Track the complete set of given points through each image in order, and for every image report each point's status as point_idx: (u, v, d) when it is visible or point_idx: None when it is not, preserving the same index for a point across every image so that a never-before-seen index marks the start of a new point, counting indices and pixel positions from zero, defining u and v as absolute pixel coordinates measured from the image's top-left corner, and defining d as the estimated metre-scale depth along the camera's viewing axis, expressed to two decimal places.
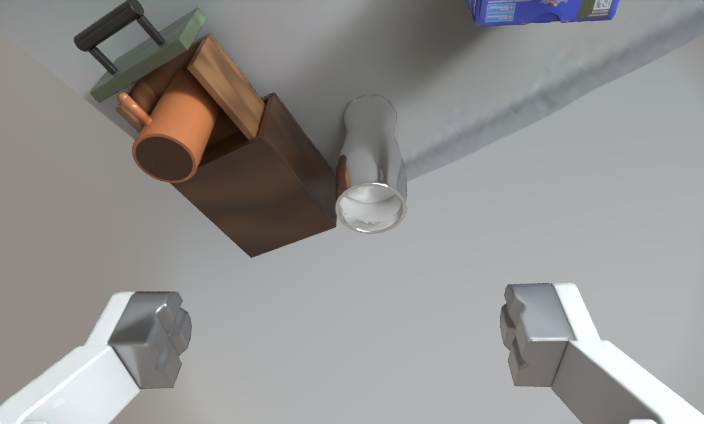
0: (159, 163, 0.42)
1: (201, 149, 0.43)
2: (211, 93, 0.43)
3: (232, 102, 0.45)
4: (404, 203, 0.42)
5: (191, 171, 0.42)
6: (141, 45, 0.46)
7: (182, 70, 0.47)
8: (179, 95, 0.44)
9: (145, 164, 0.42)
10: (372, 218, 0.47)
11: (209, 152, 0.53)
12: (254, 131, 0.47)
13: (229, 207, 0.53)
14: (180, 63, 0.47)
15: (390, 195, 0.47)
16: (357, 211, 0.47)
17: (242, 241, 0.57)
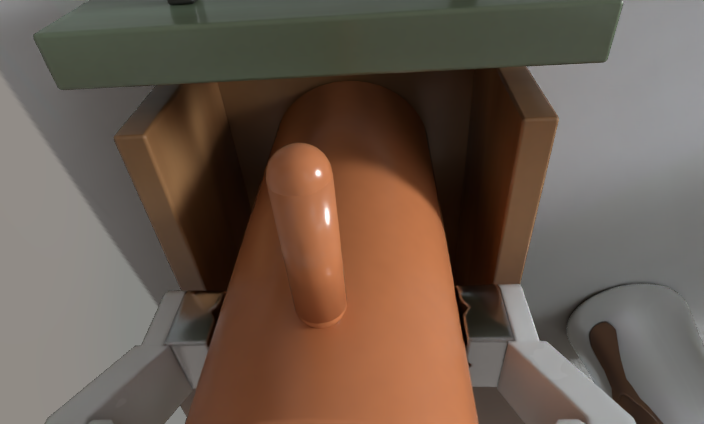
0: None
1: None
2: (513, 226, 0.12)
3: None
4: None
5: None
6: None
7: (363, 88, 0.15)
8: (404, 191, 0.11)
9: None
10: None
11: None
12: None
13: None
14: None
15: None
16: None
17: None
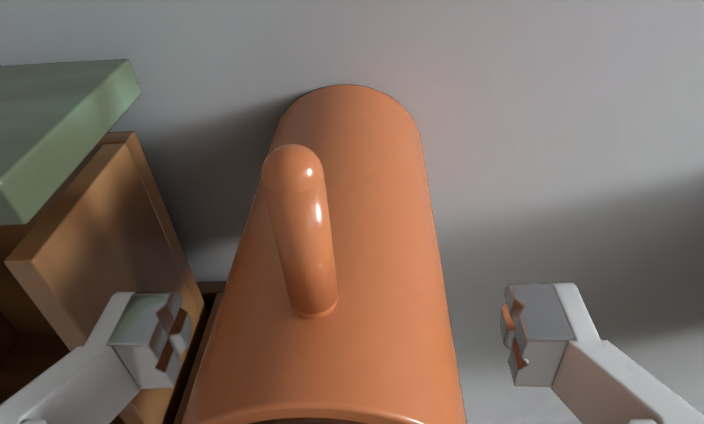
0: None
1: None
2: (68, 339, 0.13)
3: None
4: None
5: None
6: None
7: (358, 92, 0.15)
8: (395, 191, 0.12)
9: None
10: None
11: (19, 362, 0.21)
12: (161, 414, 0.17)
13: None
14: None
15: None
16: None
17: None
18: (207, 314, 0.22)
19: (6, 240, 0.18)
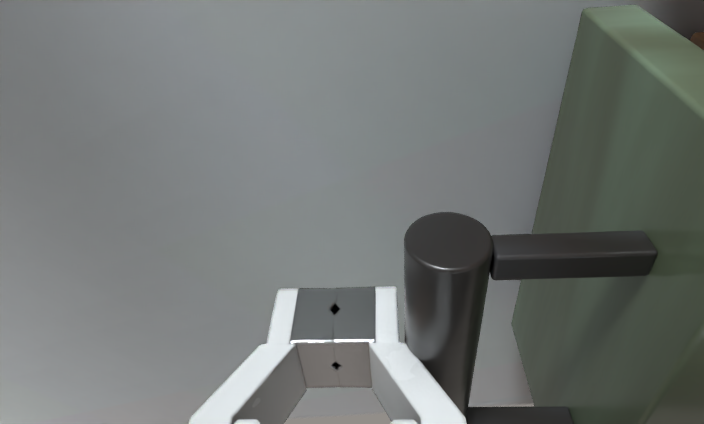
0: None
1: None
2: None
3: None
4: None
5: None
6: None
7: None
8: None
9: None
10: None
11: None
12: None
13: None
14: None
15: None
16: None
17: None
18: None
19: None
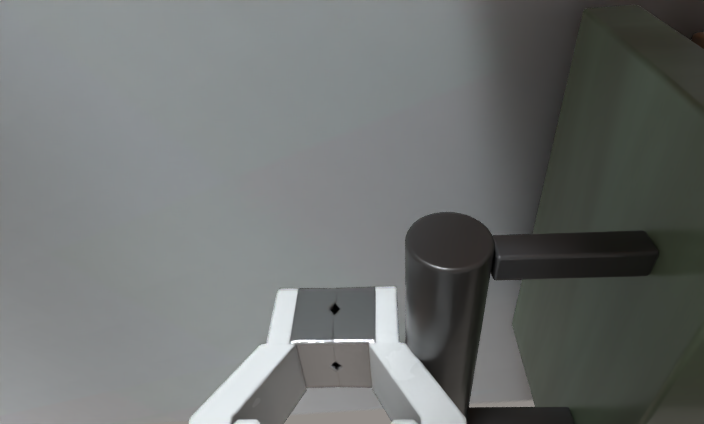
0: None
1: None
2: None
3: None
4: None
5: None
6: None
7: None
8: None
9: None
10: None
11: None
12: None
13: None
14: None
15: None
16: None
17: None
18: None
19: None
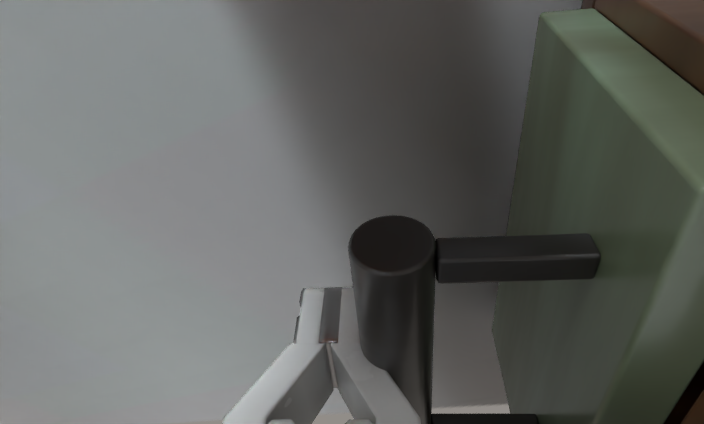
0: None
1: None
2: None
3: None
4: None
5: None
6: None
7: None
8: None
9: None
10: None
11: None
12: None
13: None
14: None
15: None
16: None
17: None
18: None
19: None
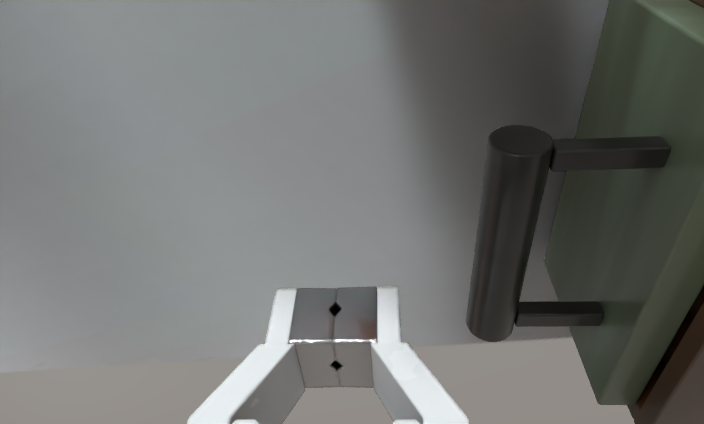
0: None
1: None
2: None
3: None
4: None
5: None
6: (570, 200, 0.17)
7: None
8: None
9: None
10: None
11: None
12: None
13: None
14: None
15: None
16: None
17: None
18: None
19: None
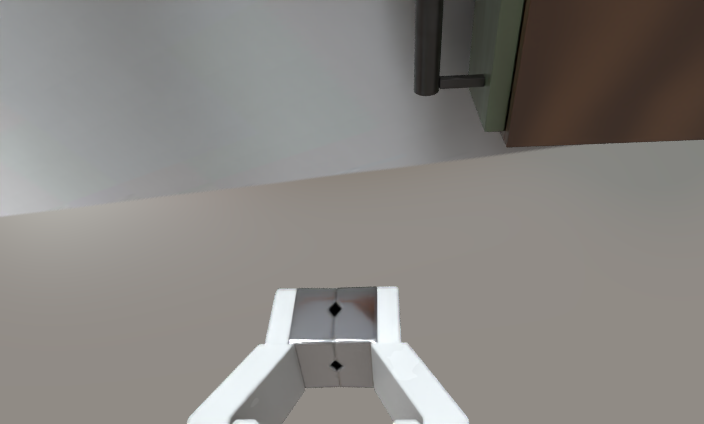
0: None
1: None
2: None
3: None
4: None
5: None
6: (475, 31, 0.30)
7: None
8: None
9: None
10: None
11: None
12: None
13: (629, 90, 0.25)
14: None
15: None
16: None
17: None
18: None
19: None
